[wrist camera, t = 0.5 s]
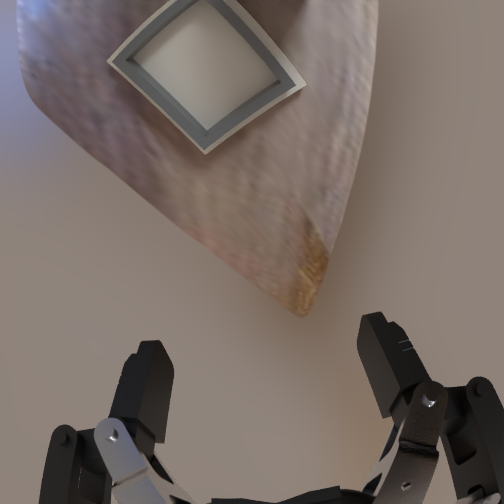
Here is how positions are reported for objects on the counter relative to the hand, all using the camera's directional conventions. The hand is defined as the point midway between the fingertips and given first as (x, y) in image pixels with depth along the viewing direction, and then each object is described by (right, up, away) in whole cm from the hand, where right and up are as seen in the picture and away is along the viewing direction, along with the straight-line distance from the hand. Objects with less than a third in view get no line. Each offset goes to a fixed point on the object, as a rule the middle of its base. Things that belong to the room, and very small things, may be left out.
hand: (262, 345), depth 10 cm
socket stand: (-6, +26, +16) cm, 31 cm away
